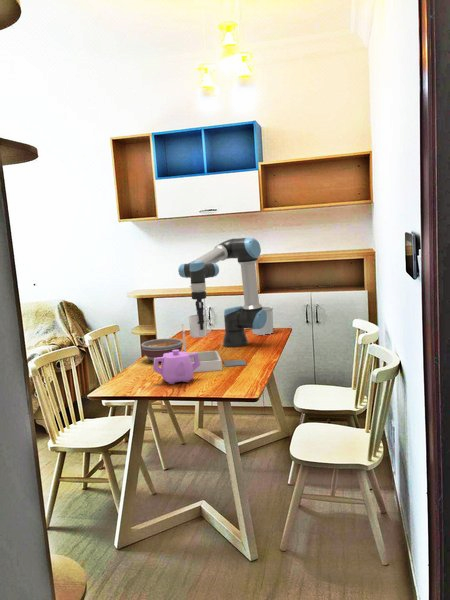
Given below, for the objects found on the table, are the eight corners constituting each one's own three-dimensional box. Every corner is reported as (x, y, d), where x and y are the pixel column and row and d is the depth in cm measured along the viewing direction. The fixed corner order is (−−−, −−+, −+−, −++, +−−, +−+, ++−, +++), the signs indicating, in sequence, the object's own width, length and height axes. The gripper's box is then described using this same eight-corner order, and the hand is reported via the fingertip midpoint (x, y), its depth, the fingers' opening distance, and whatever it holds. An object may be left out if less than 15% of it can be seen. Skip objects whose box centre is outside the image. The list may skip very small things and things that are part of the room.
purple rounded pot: (184, 387, 257) (182, 355, 255) (150, 385, 265) (148, 353, 263) (204, 377, 274) (202, 346, 273) (171, 374, 282) (169, 345, 281)
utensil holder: (267, 336, 367) (265, 309, 365) (247, 335, 375) (246, 309, 373) (277, 332, 379) (276, 306, 377) (258, 331, 387) (257, 305, 385)
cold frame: (217, 359, 310) (215, 321, 307) (222, 370, 286) (219, 329, 283) (184, 362, 308) (181, 324, 305) (185, 373, 284) (182, 331, 281)
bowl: (135, 364, 310) (133, 346, 309) (154, 354, 331) (153, 338, 330) (173, 365, 302) (171, 347, 301) (190, 355, 323) (189, 338, 322)
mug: (210, 337, 289) (208, 316, 287) (188, 337, 292) (186, 317, 291) (215, 334, 297) (213, 314, 295) (193, 334, 300) (192, 314, 299)
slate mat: (243, 360, 303) (243, 359, 303) (246, 365, 293) (246, 364, 292) (223, 362, 302) (223, 361, 302) (225, 367, 291) (225, 365, 291)
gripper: (190, 289, 302) (193, 331, 305) (192, 294, 281) (195, 338, 284) (204, 288, 303) (207, 330, 306) (207, 292, 282) (210, 337, 285)
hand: (201, 334), depth 295 cm, fingers closed on mug, 9 cm apart
